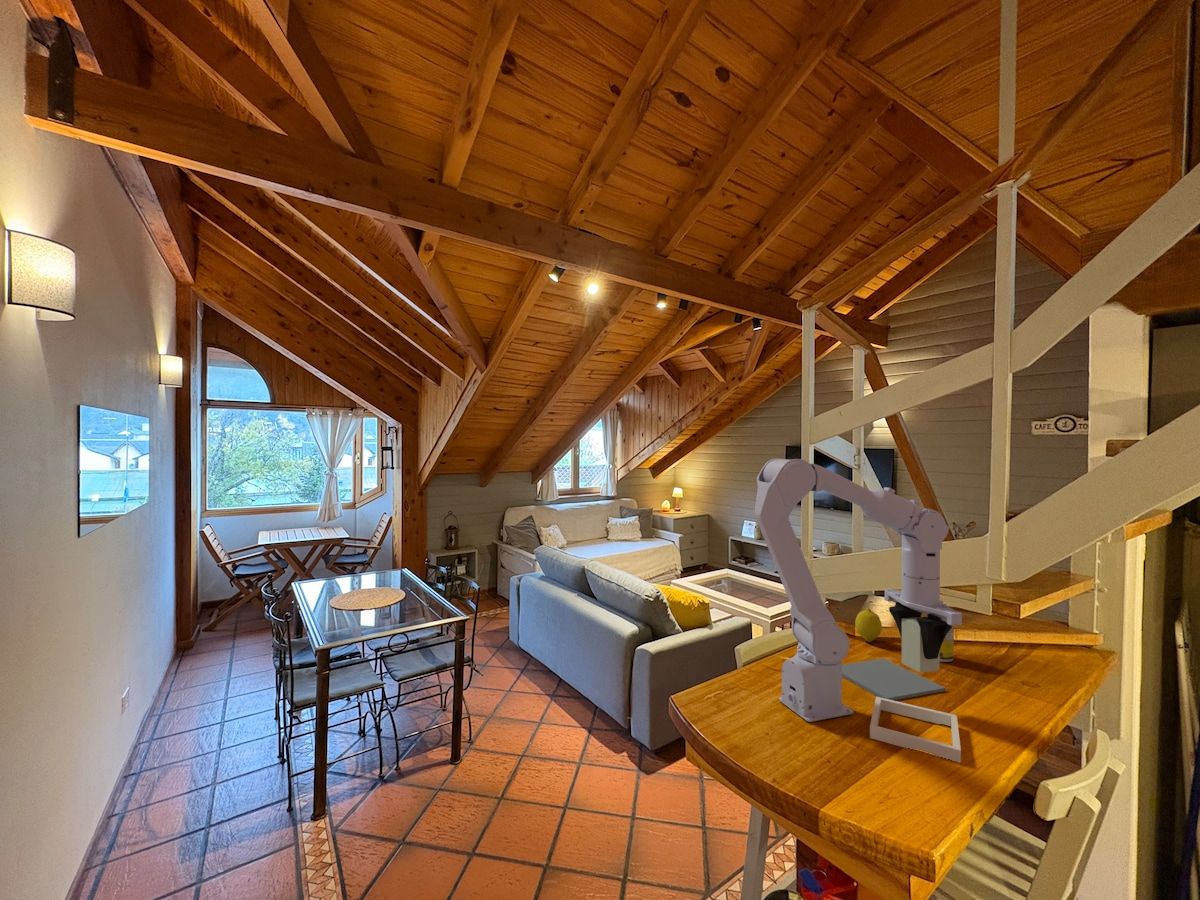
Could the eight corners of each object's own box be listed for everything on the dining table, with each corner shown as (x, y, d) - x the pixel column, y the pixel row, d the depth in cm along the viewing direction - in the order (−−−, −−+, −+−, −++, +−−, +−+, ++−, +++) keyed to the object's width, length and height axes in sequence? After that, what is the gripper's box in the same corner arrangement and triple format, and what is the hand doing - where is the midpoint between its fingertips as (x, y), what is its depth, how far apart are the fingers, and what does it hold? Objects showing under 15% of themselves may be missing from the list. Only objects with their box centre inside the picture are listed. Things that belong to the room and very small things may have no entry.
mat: (886, 701, 91) (886, 698, 91) (829, 669, 104) (829, 666, 104) (945, 691, 95) (945, 687, 95) (883, 661, 108) (883, 658, 108)
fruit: (875, 637, 122) (875, 604, 122) (885, 646, 116) (886, 611, 116) (851, 636, 123) (851, 603, 123) (860, 645, 117) (860, 610, 117)
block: (939, 670, 88) (939, 624, 88) (919, 672, 87) (920, 625, 87) (920, 661, 91) (920, 616, 91) (901, 662, 91) (901, 618, 91)
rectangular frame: (960, 763, 73) (960, 750, 73) (869, 738, 79) (869, 726, 79) (956, 726, 83) (956, 715, 83) (876, 706, 89) (876, 696, 89)
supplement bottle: (916, 654, 112) (917, 608, 112) (935, 651, 114) (936, 606, 114) (940, 664, 107) (940, 616, 107) (960, 661, 108) (960, 613, 108)
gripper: (977, 585, 83) (977, 668, 83) (906, 565, 97) (906, 636, 97) (941, 587, 81) (941, 672, 81) (875, 567, 96) (874, 639, 96)
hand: (920, 652), depth 89 cm, fingers closed on block, 4 cm apart
